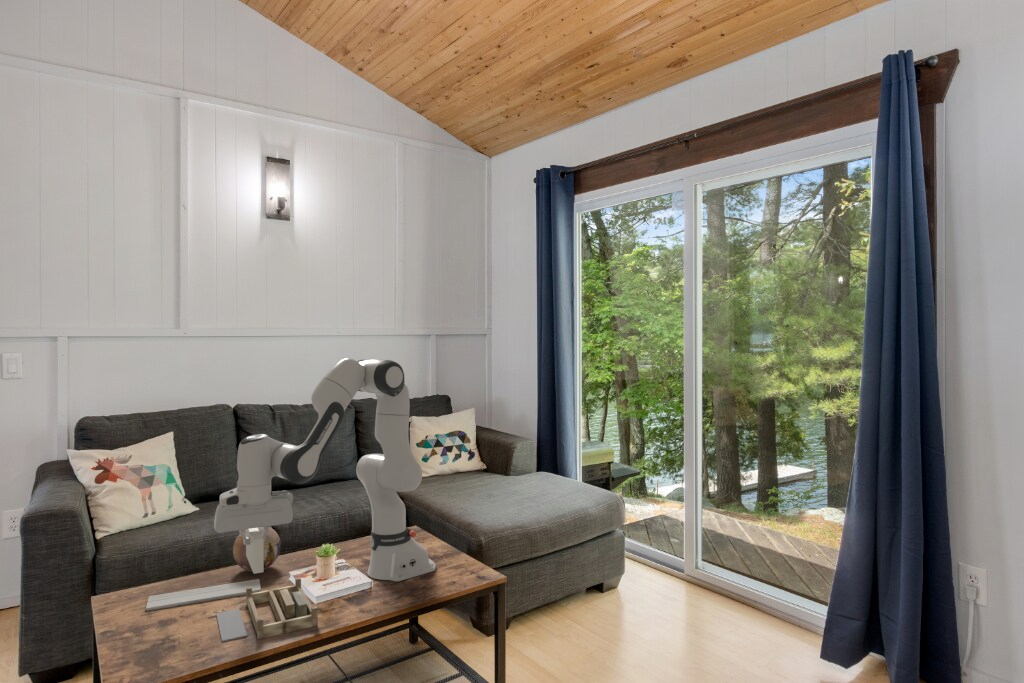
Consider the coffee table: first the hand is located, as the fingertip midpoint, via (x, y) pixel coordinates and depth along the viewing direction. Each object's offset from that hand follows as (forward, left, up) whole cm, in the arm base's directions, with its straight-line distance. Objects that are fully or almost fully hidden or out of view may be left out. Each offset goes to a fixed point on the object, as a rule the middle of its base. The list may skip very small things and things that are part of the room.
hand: (254, 543), depth 176 cm
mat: (+6, 0, -22) cm, 23 cm away
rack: (-7, 0, -22) cm, 23 cm away
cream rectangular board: (0, 0, -6) cm, 6 cm away
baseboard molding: (+11, -26, -23) cm, 36 cm away
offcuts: (-10, -1, -22) cm, 24 cm away
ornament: (-6, -39, -22) cm, 45 cm away
